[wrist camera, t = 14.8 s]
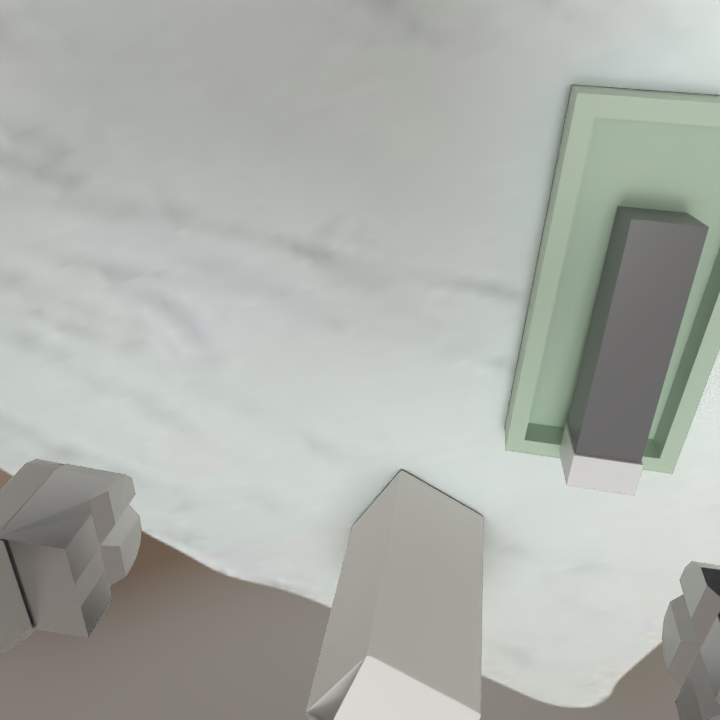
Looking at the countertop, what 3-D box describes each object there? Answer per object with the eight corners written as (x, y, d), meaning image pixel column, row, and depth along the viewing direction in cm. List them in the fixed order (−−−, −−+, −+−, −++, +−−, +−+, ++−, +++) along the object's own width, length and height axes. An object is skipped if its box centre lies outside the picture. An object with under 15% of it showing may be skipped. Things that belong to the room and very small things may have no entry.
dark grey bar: (615, 205, 34) (630, 219, 31) (689, 213, 34) (712, 228, 31) (559, 451, 41) (566, 485, 37) (621, 460, 40) (634, 495, 37)
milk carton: (401, 467, 47) (353, 731, 31) (484, 515, 48) (480, 795, 32) (351, 524, 50) (286, 787, 34) (430, 568, 51) (401, 843, 35)
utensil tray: (504, 426, 43) (505, 450, 41) (572, 84, 32) (577, 92, 30) (663, 448, 42) (672, 473, 40) (788, 100, 31) (809, 109, 29)
